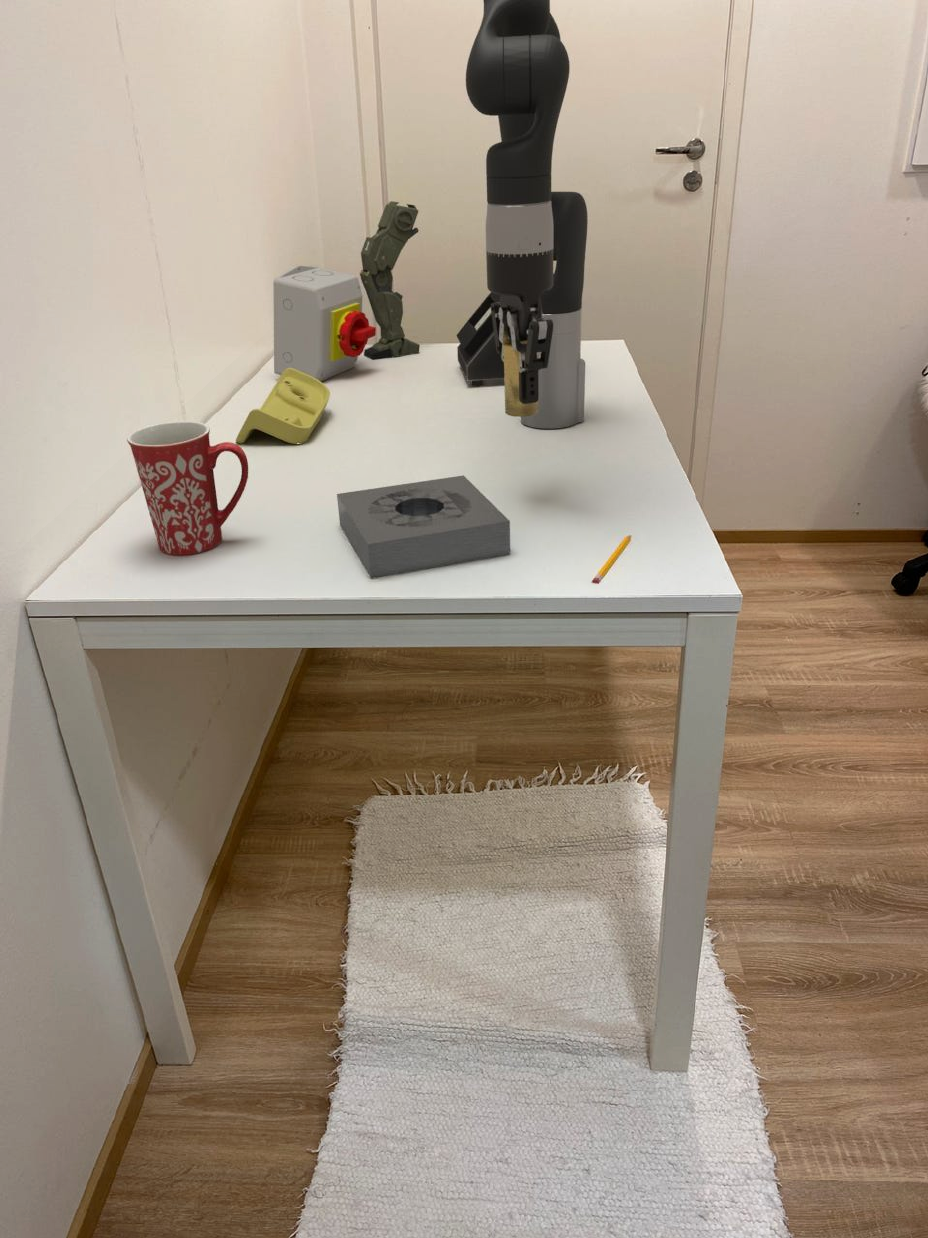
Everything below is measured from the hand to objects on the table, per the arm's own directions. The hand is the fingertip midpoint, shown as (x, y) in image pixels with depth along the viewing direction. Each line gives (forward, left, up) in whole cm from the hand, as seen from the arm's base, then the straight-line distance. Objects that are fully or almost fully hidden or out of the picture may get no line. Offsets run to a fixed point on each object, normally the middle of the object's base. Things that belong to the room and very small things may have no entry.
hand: (521, 396), depth 113 cm
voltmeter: (-21, -61, -14) cm, 66 cm away
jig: (+15, +7, -13) cm, 21 cm away
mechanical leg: (-7, -88, -13) cm, 89 cm away
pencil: (-3, +20, -14) cm, 25 cm away
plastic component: (+22, -44, -14) cm, 52 cm away
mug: (+39, -2, -13) cm, 42 cm away
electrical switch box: (+9, -76, -13) cm, 78 cm away
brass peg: (0, 0, -2) cm, 2 cm away
